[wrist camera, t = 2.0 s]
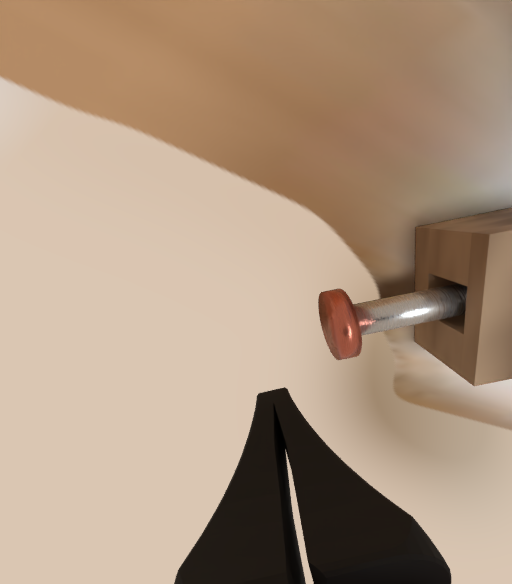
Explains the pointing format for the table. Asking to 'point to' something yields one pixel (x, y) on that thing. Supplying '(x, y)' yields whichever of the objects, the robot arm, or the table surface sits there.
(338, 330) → the pin
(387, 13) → the table surface
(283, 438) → the robot arm
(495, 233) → the block
